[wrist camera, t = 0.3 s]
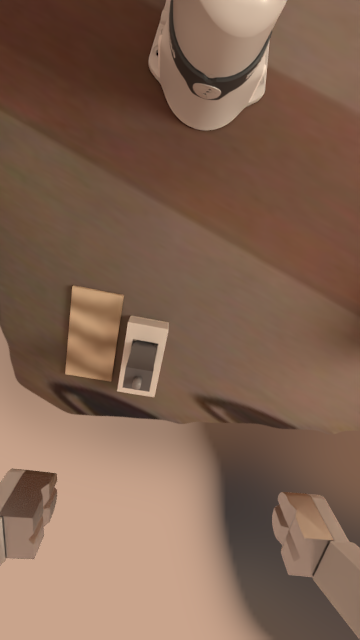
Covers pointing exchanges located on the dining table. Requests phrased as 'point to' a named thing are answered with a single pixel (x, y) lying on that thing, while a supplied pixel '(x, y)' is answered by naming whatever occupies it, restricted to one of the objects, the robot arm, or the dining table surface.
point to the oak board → (93, 333)
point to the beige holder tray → (150, 333)
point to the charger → (140, 366)
